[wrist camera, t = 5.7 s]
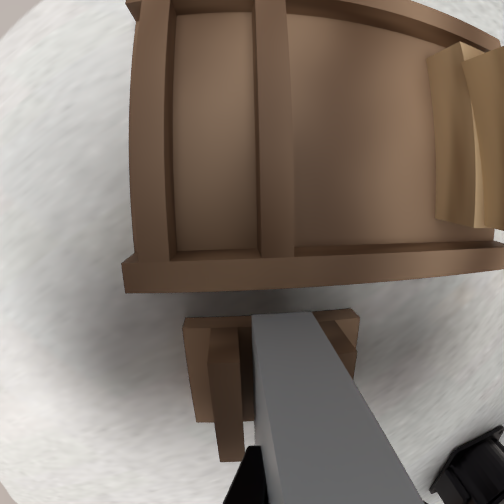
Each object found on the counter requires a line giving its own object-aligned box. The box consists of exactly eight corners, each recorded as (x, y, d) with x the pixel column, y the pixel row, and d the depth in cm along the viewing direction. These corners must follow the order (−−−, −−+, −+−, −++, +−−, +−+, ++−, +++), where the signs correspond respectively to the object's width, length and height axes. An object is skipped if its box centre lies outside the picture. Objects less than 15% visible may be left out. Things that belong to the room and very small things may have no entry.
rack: (469, 51, 10) (499, 40, 8) (478, 255, 13) (510, 268, 10) (144, 13, 9) (129, -16, 7) (144, 271, 12) (125, 293, 9)
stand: (351, 308, 13) (386, 347, 9) (339, 397, 14) (362, 444, 11) (185, 317, 12) (171, 363, 9) (197, 408, 13) (192, 461, 10)
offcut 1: (485, 80, 10) (519, 71, 7) (492, 220, 11) (528, 228, 9) (425, 58, 10) (460, 41, 7) (434, 218, 11) (473, 227, 9)
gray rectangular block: (311, 311, 10) (456, 562, 1) (299, 448, 12) (346, 621, 3) (251, 314, 10) (305, 615, 1) (255, 452, 12) (278, 634, 3)
